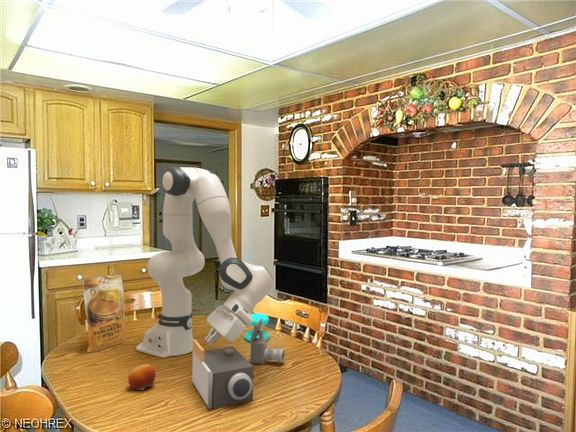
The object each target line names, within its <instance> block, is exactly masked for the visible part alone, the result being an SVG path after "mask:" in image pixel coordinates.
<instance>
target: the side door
mask: <svg viewBox="0 0 576 432" xmlns="http://www.w3.org/2000/svg"><path fill="white" fill-rule="evenodd" d="M204 351H205V349H204V348H203V347H202V346H201V345H200V343H199V342H198V341H197V339H195V338H193V351H192V365H191V366H192V372H191V373H192V375H191V377H192V379H191V381H192V384H193V385H194V386H195V389H196V390H197V392H198V394H199V395H200V397H201V398H202V399H203V402H204V404H205V405H206V406H207V409H209V410H212V409H213V408H212V389H213V372H211V370H210V369H209V368H208V366H207V365H206V364H205V362H204Z"/></svg>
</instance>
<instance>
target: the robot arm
mask: <svg viewBox="0 0 576 432" xmlns="http://www.w3.org/2000/svg"><path fill="white" fill-rule="evenodd" d="M161 187H162V189H163V191H164V192H165V195H164V199H163V209H162V233H163V236H164V237H165V239H167V240H168V241H169V242H170V245H171V249H172V250H168V251H161V252H159V253H157V254H155V255H152V256H151V257H150V258H149V259H148V263H147V273H148V275H149V276H150V277H151V279H152V280H153V281H155V282H156V284H157V285H158V287H159V289H160V292H161V303H162V304H161V313H159V315H156V316H155V317H156V318H155V320H158V321H157V323H155V324H154V325H153V326H151V327H150V328H149V329H148V330H146V332H145V333H144V336H143V338H142V342H140V343H139V344H138V345H137V346H136V349H135V350H136V351H138V352H141V353H143V354H144V353H145V354H148V355H152V356H155V357H159V358H169V357H174V356H182V355H186V354H188V353H191V352H193V339H194V336H193V318H194V316H193V312H192V300H193V298H192V293H191V291H190V290H189V289H188V288H186V286H185V283H184V280H183V278H187V277H190V276H193V275H196V274H198V273H199V272H201V271H202V270H203V269H204V267H205V263H206V261H205V255H204V254H203V252H202V251H200V249H199V248H198V246H197V244H196V242H195V238H194V233H193V231H194V228H193V226H194V224H193V216H194V215H193V203H194V201H195V202H196V206H197V210H198V213H199V216H200V218H201V220H202V222H203V224H204V226H205V228H206V229H207V232H208V233H209V236H211V238H212V240H213V243H214V246H215V249H216V252H217V256H218V260H219V263H220V265H219V269H218V276H219V283H220V285H221V287H222V289H223V290H225V291H226V292H229V293H232V294H231V295H230V296H229V297H228V298H227V300H226V301H224V302H223V304H221V305H218V306H217V307H216V308H215V309H214V310H213V311H212V312H211V313H210V314H209V315H208V316H207V317H206V320H205V321H206V322H207V324H208V325H210V326H211V327H212V328H211V329H210V330H209V332H208V334H207V336H205V338H204V341H205V342H206V344H207V345H208V346H212V345H213V344H214V343H215V342H217V341H218V340H220V339H221V337H222V338H224V339H225V340H226V341H227V342H228V343H229V344H231V343H233V342H235V341H236V340H237V339H238V338H239V337H240V336H241V335H242V334H243V332H245V330H246V329H247V327H248V326H251V325H250V324H251V323H252V321H253V320H252V317H251V314H252V312H253V311H254V310H255V308H256V306H257V305H258V304H259V303H261V302H262V301H263V300H264V299H265V297H266V296H268V293H269V292H270V291H271V289H272V288H273V286H274V278H273V276H272V274H271V273H270V271H269V270H268V269H267V268H266V267H265V266H263V265H256V264H251V263H248V262H246V261H244V260H242V259H240V258H238V257H237V254H236V250H235V247H234V243H233V239H232V211H231V206H230V205H231V204H230V201H229V198H228V195H227V193H226V190H225V188H224V185H223V183H222V181H221V179H220V178H219V176H218V175H217V173H215V172H214V171H212V170H210V169H207V168H199V167H194V166H193V167H182V166H181V167H179V166H171V167H168V168H166V169H165V170H164V172H163V174H162V177H161Z"/></svg>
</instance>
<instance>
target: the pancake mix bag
mask: <svg viewBox="0 0 576 432" xmlns="http://www.w3.org/2000/svg"><path fill="white" fill-rule="evenodd" d="M81 285H82V296H83V298H84V299H83V300H84V310H85V315H86V319H87V333H88V335H87V336H88V345H87V346H88V347H87V352H86V353H96V352H101V351H104V350H107V349H109V348H110V349H111V348H113V347H116V346H119V345H121V344H123V343H124V342H125V340H126V339H125V323H126V322H125V318H126V317H125V316H126V313H125V312H126V308H125V307H126V305H125V302H126V301H125V299H126V297H125V289H124V282H123V275H122V274H120V273H113V274H107V275H100V276H99V275H98V276H93V277H89V278H84V280H83V281H82V284H81Z"/></svg>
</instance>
